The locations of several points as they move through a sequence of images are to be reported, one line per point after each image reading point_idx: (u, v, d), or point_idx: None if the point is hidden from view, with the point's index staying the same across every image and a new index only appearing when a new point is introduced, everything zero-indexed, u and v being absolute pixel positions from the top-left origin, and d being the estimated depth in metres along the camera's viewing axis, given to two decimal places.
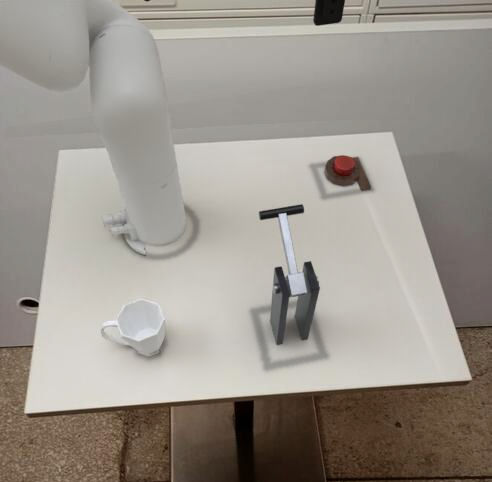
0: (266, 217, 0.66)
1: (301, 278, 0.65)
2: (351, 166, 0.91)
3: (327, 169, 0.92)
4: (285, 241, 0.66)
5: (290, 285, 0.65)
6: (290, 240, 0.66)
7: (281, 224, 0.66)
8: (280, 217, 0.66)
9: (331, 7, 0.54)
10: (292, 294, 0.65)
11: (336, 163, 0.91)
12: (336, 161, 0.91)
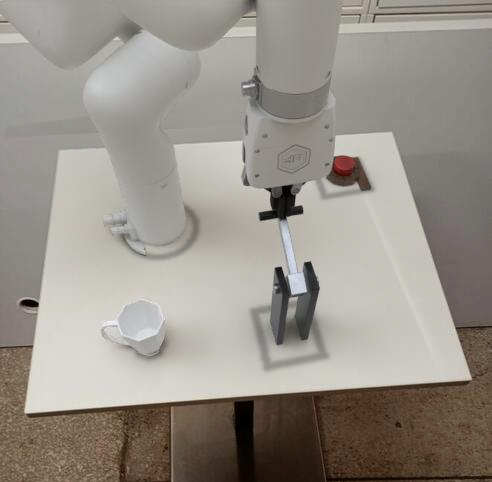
0: (266, 218, 0.67)
1: (301, 278, 0.65)
2: (351, 166, 0.91)
3: None
4: (285, 241, 0.67)
5: (290, 285, 0.65)
6: (290, 240, 0.67)
7: (281, 225, 0.67)
8: (280, 218, 0.67)
9: None
10: (292, 294, 0.65)
11: (336, 163, 0.91)
12: (336, 161, 0.91)
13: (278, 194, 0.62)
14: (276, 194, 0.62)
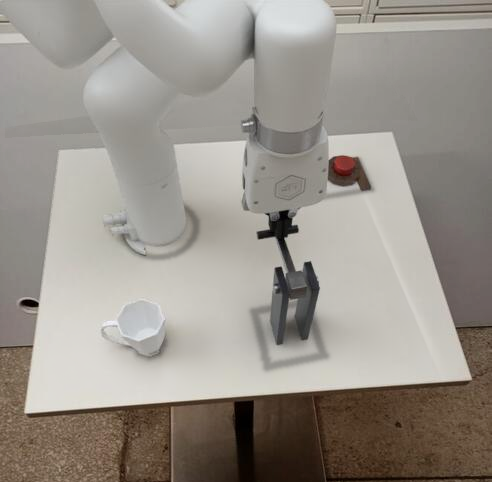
0: (263, 235, 0.71)
1: (299, 275, 0.66)
2: (351, 166, 0.91)
3: None
4: (282, 250, 0.69)
5: (289, 280, 0.65)
6: (287, 249, 0.69)
7: (277, 239, 0.71)
8: None
9: None
10: (292, 288, 0.65)
11: (336, 163, 0.91)
12: (336, 161, 0.91)
13: (276, 217, 0.67)
14: (274, 218, 0.67)
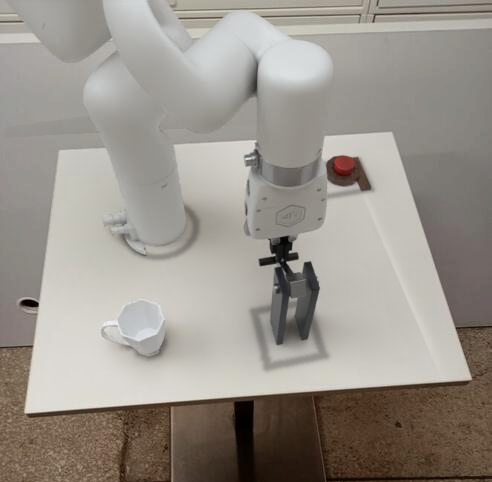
0: (264, 260, 0.74)
1: (298, 274, 0.67)
2: (351, 166, 0.91)
3: (327, 169, 0.92)
4: (282, 266, 0.71)
5: (288, 278, 0.66)
6: (287, 265, 0.71)
7: None
8: None
9: None
10: (290, 281, 0.65)
11: (336, 163, 0.91)
12: (336, 161, 0.91)
13: (277, 242, 0.70)
14: (275, 242, 0.70)
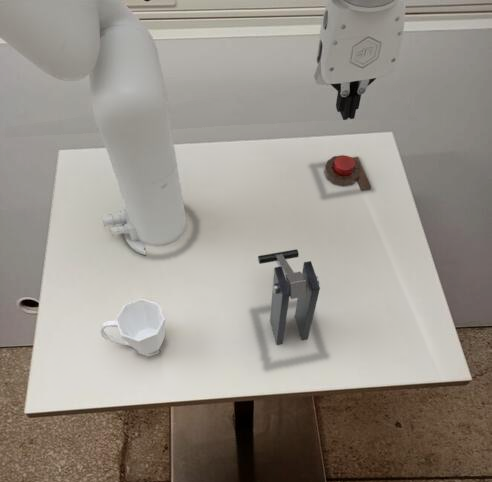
0: (264, 258, 0.74)
1: (298, 274, 0.66)
2: (351, 166, 0.91)
3: (327, 169, 0.92)
4: (282, 264, 0.71)
5: (288, 278, 0.66)
6: (287, 263, 0.71)
7: (278, 258, 0.73)
8: (276, 255, 0.74)
9: None
10: (290, 282, 0.65)
11: (336, 163, 0.91)
12: (336, 161, 0.91)
13: (346, 93, 0.70)
14: (344, 93, 0.70)
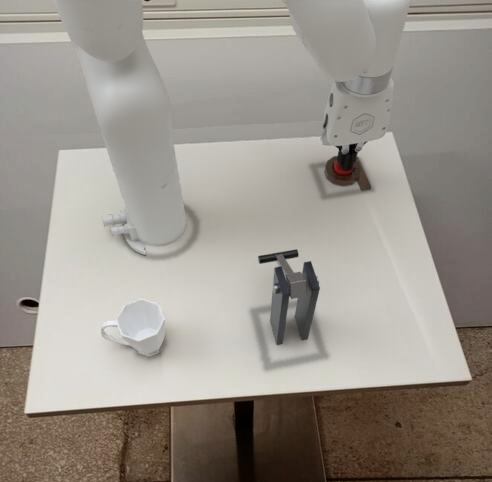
0: (264, 258, 0.74)
1: (298, 274, 0.66)
2: None
3: (327, 169, 0.92)
4: (282, 264, 0.71)
5: (288, 278, 0.66)
6: (287, 263, 0.71)
7: (278, 258, 0.73)
8: (276, 255, 0.74)
9: None
10: (290, 282, 0.65)
11: (336, 166, 0.92)
12: (335, 164, 0.92)
13: (346, 151, 0.87)
14: (344, 151, 0.87)
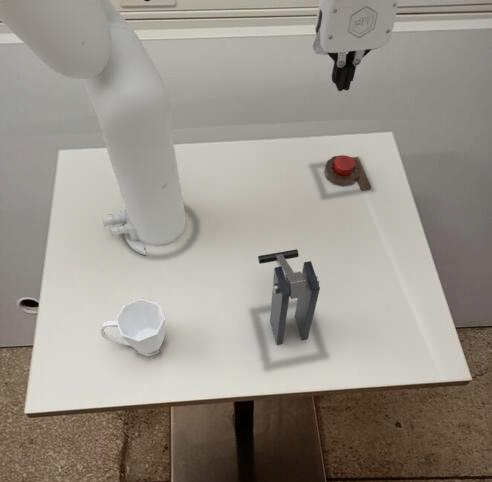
0: (264, 258, 0.74)
1: (298, 274, 0.66)
2: (351, 166, 0.91)
3: (327, 169, 0.92)
4: (282, 264, 0.71)
5: (288, 278, 0.66)
6: (287, 263, 0.71)
7: (278, 258, 0.73)
8: (276, 255, 0.74)
9: None
10: (290, 282, 0.65)
11: (336, 163, 0.91)
12: (336, 161, 0.91)
13: (342, 64, 0.74)
14: (340, 64, 0.74)
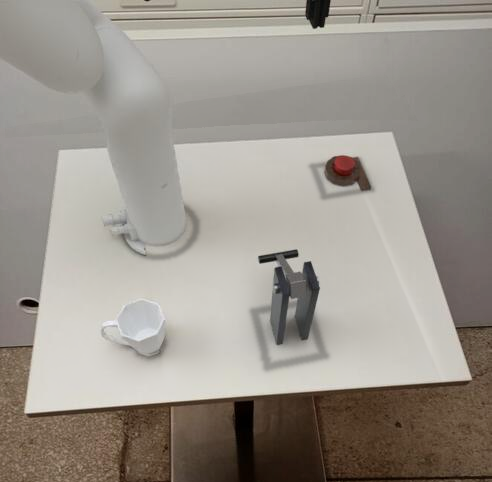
0: (264, 258, 0.74)
1: (298, 274, 0.66)
2: (351, 166, 0.91)
3: (327, 169, 0.92)
4: (282, 264, 0.71)
5: (288, 278, 0.66)
6: (287, 263, 0.71)
7: (278, 258, 0.73)
8: (276, 255, 0.74)
9: None
10: (290, 282, 0.65)
11: (336, 163, 0.91)
12: (336, 161, 0.91)
13: None
14: None
